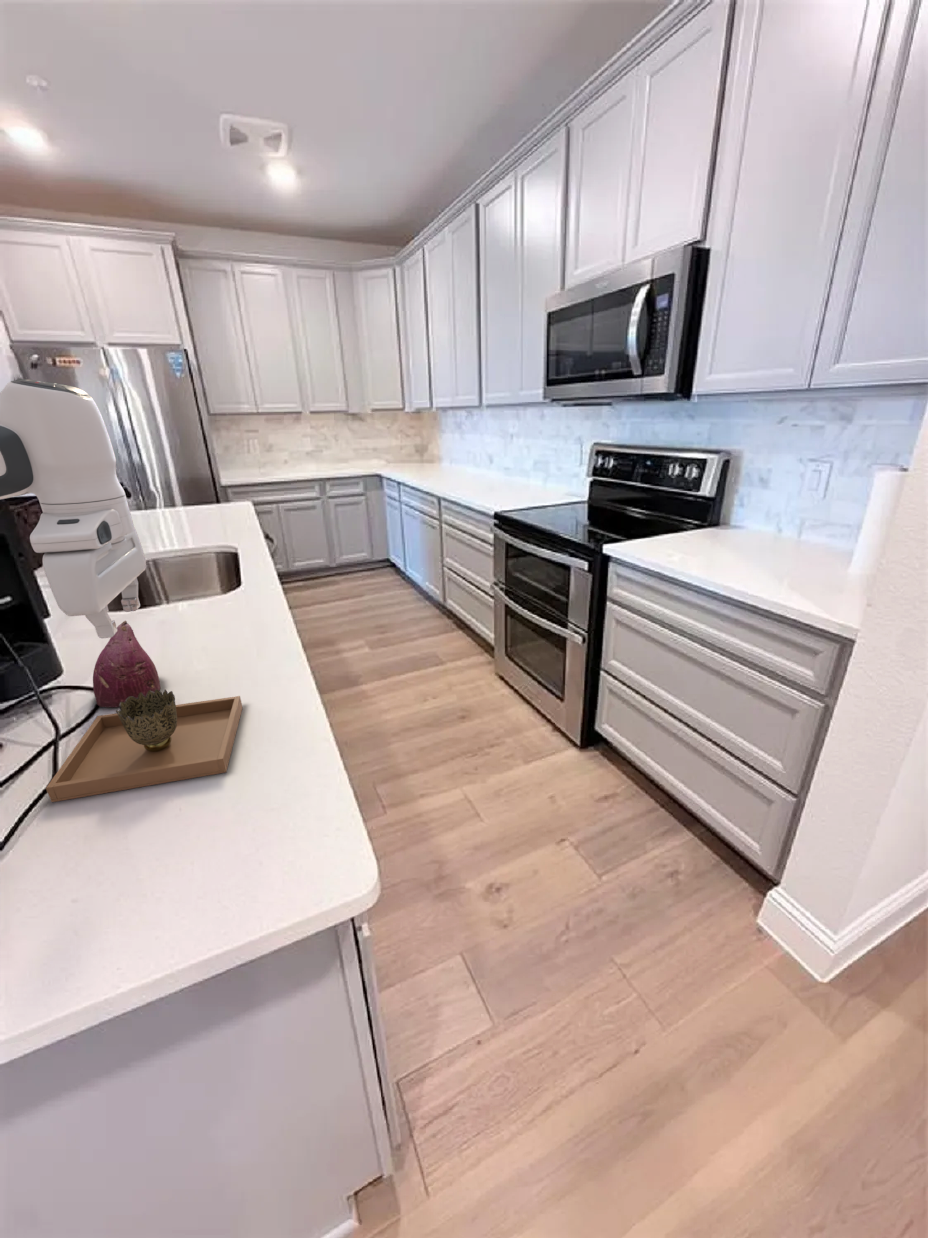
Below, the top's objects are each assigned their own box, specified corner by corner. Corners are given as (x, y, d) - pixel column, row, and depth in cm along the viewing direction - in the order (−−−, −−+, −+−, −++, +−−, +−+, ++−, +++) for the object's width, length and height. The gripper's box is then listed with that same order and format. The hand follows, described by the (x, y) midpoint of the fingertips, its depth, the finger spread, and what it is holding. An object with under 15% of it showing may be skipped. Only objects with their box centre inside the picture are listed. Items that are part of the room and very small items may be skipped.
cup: (180, 756, 75) (167, 710, 72) (124, 766, 73) (108, 719, 70) (190, 728, 82) (178, 685, 79) (139, 737, 80) (125, 693, 77)
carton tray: (51, 802, 67) (45, 788, 66) (101, 728, 83) (97, 715, 82) (226, 772, 72) (222, 758, 71) (242, 707, 88) (240, 695, 87)
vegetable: (147, 690, 100) (144, 615, 98) (172, 699, 94) (168, 619, 92) (84, 701, 92) (79, 619, 90) (106, 712, 86) (101, 624, 84)
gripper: (95, 508, 73) (121, 599, 78) (20, 542, 54) (62, 657, 60) (144, 506, 74) (166, 594, 79) (87, 537, 56) (122, 650, 61)
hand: (121, 622), depth 69 cm, fingers open, 8 cm apart
